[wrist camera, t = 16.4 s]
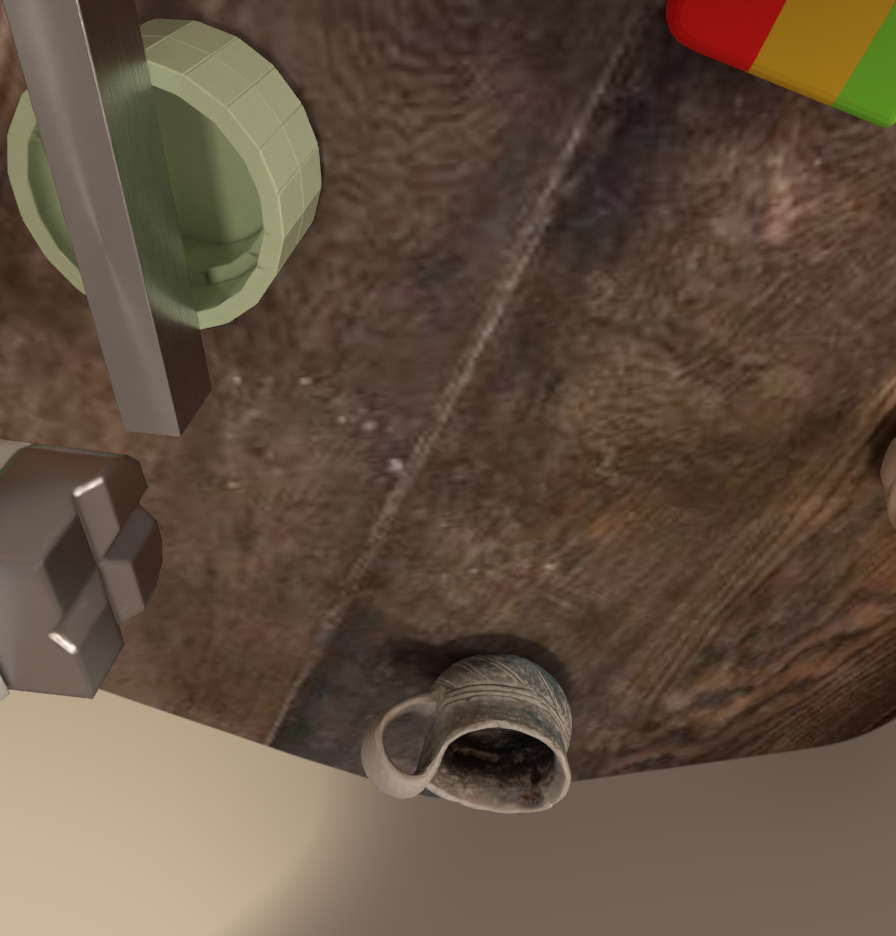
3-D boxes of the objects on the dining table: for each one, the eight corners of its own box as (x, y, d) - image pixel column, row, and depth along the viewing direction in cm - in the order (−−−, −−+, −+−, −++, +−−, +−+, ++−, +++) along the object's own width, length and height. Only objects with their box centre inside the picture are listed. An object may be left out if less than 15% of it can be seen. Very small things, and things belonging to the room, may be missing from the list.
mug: (553, 736, 59) (543, 879, 52) (377, 692, 59) (341, 829, 52) (594, 650, 53) (590, 799, 45) (398, 601, 53) (360, 742, 45)
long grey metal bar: (58, -35, 27) (-3, -15, 25) (129, -33, 27) (75, -11, 24) (159, 384, 37) (124, 431, 35) (212, 389, 37) (180, 437, 34)
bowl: (54, 9, 34) (-34, 46, 29) (312, 21, 33) (263, 62, 28) (116, 257, 41) (52, 319, 36) (333, 275, 40) (296, 341, 35)
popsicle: (729, -152, 28) (735, -147, 26) (1134, 22, 29) (1161, 35, 28) (651, 25, 31) (653, 38, 30) (1015, 173, 33) (1034, 192, 31)
